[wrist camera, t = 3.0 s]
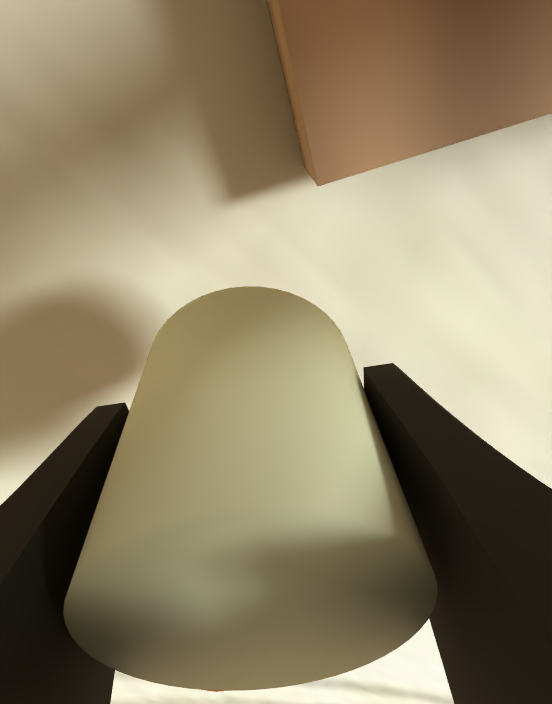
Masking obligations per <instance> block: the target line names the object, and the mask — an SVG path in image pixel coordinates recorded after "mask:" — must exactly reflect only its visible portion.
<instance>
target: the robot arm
mask: <svg viewBox="0 0 552 704" xmlns="http://www.w3.org/2000/svg"><path fill="white" fill-rule="evenodd" d="M364 391H365V393H366V396H367V399H368V401H369V404H370V406H371V409H372V412H373V414H374V417H375V420H376V422H377V425H378V427H379V430H380V433H381V435H382V438H383V440H384V443H385V446H386V448H387V451H388V454H389V456H390V459H391V461H392V464H393V467H394V469H395V472H396V475H397V477H398V480H399V482H400V485H401V488H402V490H403V493H404V495H405V498H406V501H407V503H408V506H409V509H410V511H411V514H412V516H413V519H414V522H415V524H416V527H417V529H418V532H419V535H420V537H421V540H422V543H423V545H424V548H425V550H426V553H427V556H428V558H429V561H430V564H431V566H432V569H433V571H434V574H435V578H436V582H437V585H438V586H437V600H436V603H435V607H434V609H433V611H432V613H431V615H430V617H429V619H430V622H431V626H432V629H433V632H434V636H435V639H436V642H437V646H438V649H439V652H440V656H441V659H442V662H443V666H444V669H445V673H446V676H447V680H448V683H449V686H450V690H451V693H452V697H453V700H454V704H552V489H551V488H550V487H548V486H546V485H545V484H543V483H542V482H540V481H539V480H538V479H536V478H535V477H533V476H532V475H530V474H529V473H527V472H526V471H525V470H523V469H522V468H520V467H519V466H518V465H516V464H515V463H513V462H512V461H511V460H509V459H508V458H507V457H505V456H504V455H503V454H501V453H500V452H499V451H497V450H496V449H494V448H493V447H492V446H491V445H489V444H488V443H487V442H485V441H484V440H483V439H481V438H480V437H479V436H478V435H476V434H475V433H474V432H473V431H471V430H470V429H469V428H468V427H466V426H465V425H464V424H463V423H462V422H460V421H459V420H458V419H457V418H455V417H454V416H453V415H452V414H450V413H449V412H448V411H447V410H446V409H445V408H443V407H442V406H441V405H440V404H439V403H437V402H436V401H435V400H434V399H433V398H432V397H431V396H429V395H428V394H427V393H426V392H425V391H424V390H423V389H422V388H420V387H419V386H418V385H417V384H416V383H415V382H414V381H413V380H412V379H410V378H409V377H408V376H407V375H406V374H405V373H404V372H403V371H402V370H401V369H399V368H398V367H397V366H396V365H395V364H393V363H390V364H383V365H377V366H370V367H364ZM128 414H129V410H128V408H127V406H126V404H125V403H118V404H112V405H105V406H98V407H96V408H95V409H94V410H93V411H92V412H91V413H90V414H89V415H88V416H87V417H86V418H85V419H84V420H83V421H82V422H81V423H80V424H79V425H78V426H77V427H76V428H75V429H74V430H73V431H72V432H71V433H70V434H69V435H68V437H67V438H66V439H65V440H64V441H63V442H62V443H61V444H60V445H59V446H58V447H57V448H56V449H55V450H54V451H53V452H52V453H51V455H50V456H49V457H48V458H47V459H46V460H45V461H44V462H43V463H42V464H41V465H40V466H39V467H38V468H37V469H36V470H35V471H34V472H33V473H32V474H31V475H30V476H29V477H28V478H27V480H26V481H25V482H24V483H23V484H22V485H21V486H20V487H19V488H18V489H17V490H16V491H15V492H14V493H13V494H12V495H11V496H10V497H9V498H8V499H7V500H6V501H5V502H4V503H3V504H1V505H0V704H110V701H111V694H112V687H113V680H114V673H115V669H113V668H110V667H108V666H106V665H104V664H102V663H101V662H99V661H98V660H96V659H95V658H93V657H91V656H90V655H89V654H88V653H86V652H85V651H84V650H83V649H82V648H81V647H80V646H79V645H78V644H77V643H76V642H75V640H74V639H73V638H72V637H71V635H70V633H69V631H68V629H67V627H66V624H65V620H64V615H63V611H64V601H65V598H66V595H67V592H68V589H69V586H70V583H71V580H72V577H73V574H74V571H75V569H76V566H77V563H78V560H79V557H80V554H81V551H82V548H83V545H84V542H85V539H86V536H87V534H88V531H89V528H90V525H91V522H92V519H93V516H94V513H95V510H96V507H97V504H98V501H99V498H100V496H101V493H102V490H103V487H104V484H105V481H106V478H107V475H108V472H109V469H110V466H111V463H112V461H113V458H114V455H115V452H116V449H117V446H118V443H119V440H120V437H121V434H122V431H123V428H124V426H125V423H126V420H127V417H128Z"/></svg>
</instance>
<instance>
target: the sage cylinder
mask: <svg viewBox="0 0 552 704" xmlns="http://www.w3.org/2000/svg"><path fill="white" fill-rule="evenodd" d="M437 586H438V585H437V582H436V578H435V574H434V571H433V569H432V566H431V564H430V561H429V558H428V556H427V553H426V550H425V548H424V545H423V543H422V540H421V537H420V535H419V532H418V529H417V527H416V524H415V522H414V519H413V516H412V514H411V511H410V509H409V506H408V503H407V501H406V498H405V495H404V493H403V490H402V488H401V485H400V482H399V480H398V477H397V475H396V472H395V469H394V467H393V464H392V461H391V459H390V456H389V454H388V451H387V448H386V446H385V443H384V440H383V438H382V435H381V433H380V430H379V427H378V425H377V422H376V420H375V417H374V414H373V412H372V409H371V406H370V404H369V401H368V399H367V396H366V393H365V391H364V388H363V386H362V383H361V380H360V378H359V375H358V372H357V370H356V367H355V365H354V362H353V359H352V357H351V354H350V351H349V349H348V346H347V344H346V341H345V339H344V337H343V335H342V333H341V331H340V330H339V329H338V327H337V326H336V324H335V323H334V322H333V321H332V320H331V319H330V317H329V316H328V315H327V314H326V313H325V312H323V311H322V310H321V309H319V308H318V307H317V306H315V305H314V304H312V303H310V302H309V301H307V300H305V299H303V298H301V297H299V296H296V295H294V294H291V293H289V292H285V291H281V290H278V289H273V288H265V287H235V288H228V289H224V290H219V291H215V292H212V293H209V294H207V295H204V296H201V297H199V298H197V299H195V300H193V301H192V302H190V303H188V304H186V305H185V306H184V307H182V308H181V309H179V310H178V311H177V312H176V313H175V314H174V315H172V316H171V317H170V318H169V319H168V320H167V321H166V323H165V324H164V325H163V326H162V328H161V329H160V330H159V332H158V334H157V336H156V338H155V339H154V341H153V344H152V347H151V350H150V353H149V355H148V358H147V361H146V364H145V367H144V370H143V373H142V376H141V379H140V382H139V385H138V388H137V390H136V393H135V396H134V399H133V402H132V405H131V408H130V411H129V414H128V417H127V420H126V423H125V426H124V428H123V431H122V434H121V437H120V440H119V443H118V446H117V449H116V452H115V455H114V458H113V461H112V463H111V466H110V469H109V472H108V475H107V478H106V481H105V484H104V487H103V490H102V493H101V496H100V498H99V501H98V504H97V507H96V510H95V513H94V516H93V519H92V522H91V525H90V528H89V531H88V534H87V536H86V539H85V542H84V545H83V548H82V551H81V554H80V557H79V560H78V563H77V566H76V569H75V571H74V574H73V577H72V580H71V583H70V586H69V589H68V592H67V595H66V598H65V601H64V611H63V615H64V620H65V624H66V627H67V629H68V631H69V633H70V635H71V637H72V638H73V639H74V640H75V642H76V643H77V644H78V645H79V646H80V647H81V648H82V649H83V650H84V651H85V652H86V653H88V654H89V655H90V656H91V657H93V658H95V659H96V660H98V661H99V662H101V663H102V664H104V665H106V666H108V667H110V668H113V669H115V670H117V671H119V672H122V673H124V674H127V675H130V676H133V677H136V678H139V679H143V680H146V681H150V682H154V683H159V684H164V685H169V686H175V687H182V688H191V689H202V690H223V691H229V690H257V689H268V688H278V687H285V686H291V685H298V684H303V683H308V682H312V681H317V680H321V679H325V678H328V677H332V676H336V675H339V674H342V673H345V672H348V671H351V670H354V669H356V668H359V667H361V666H364V665H366V664H369V663H371V662H373V661H375V660H377V659H379V658H381V657H383V656H385V655H387V654H388V653H390V652H392V651H393V650H395V649H397V648H398V647H400V646H401V645H402V644H404V643H405V642H406V641H408V640H409V639H410V638H411V637H412V636H413V635H415V634H416V633H417V632H418V631H419V630H420V629H421V628H422V626H423V625H424V624H425V623H426V621H427V620H428V619H429V617H430V615H431V613H432V611H433V609H434V607H435V603H436V600H437Z"/></svg>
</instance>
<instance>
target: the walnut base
mask: <svg viewBox="0 0 552 704" xmlns="http://www.w3.org/2000/svg"><path fill="white" fill-rule="evenodd" d="M267 3H268V7H269V12H270V16H271V21H272V25H273V29H274V34H275V38H276V43H277V47H278V51H279V56H280V60H281V65H282V69H283V74H284V78H285V82H286V87H287V91H288V96H289V100H290V104H291V109H292V113H293V118H294V122H295V126H296V131H297V135H298V140H299V144H300V148H301V153H302V157H303V162H304V166H305V168H306V169H307V171H308V172H309V174H310V175H311V177H312V178H313V180H314V181H315V183H316V184H317V186H321V185H324V184H327V183H330V182H333V181H337V180H340V179H343V178H346V177H349V176H353V175H356V174H359V173H362V172H365V171H369V170H372V169H375V168H378V167H381V166H385V165H388V164H391V163H394V162H397V161H400V160H404V159H407V158H410V157H413V156H416V155H420V154H423V153H426V152H429V151H432V150H436V149H439V148H442V147H445V146H448V145H452V144H455V143H458V142H461V141H464V140H468V139H471V138H474V137H477V136H480V135H483V134H487V133H490V132H493V131H496V130H499V129H503V128H506V127H509V126H512V125H515V124H519V123H522V122H525V121H528V120H531V119H535V118H538V117H541V116H544V115H547V114H551V113H552V0H267Z"/></svg>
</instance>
